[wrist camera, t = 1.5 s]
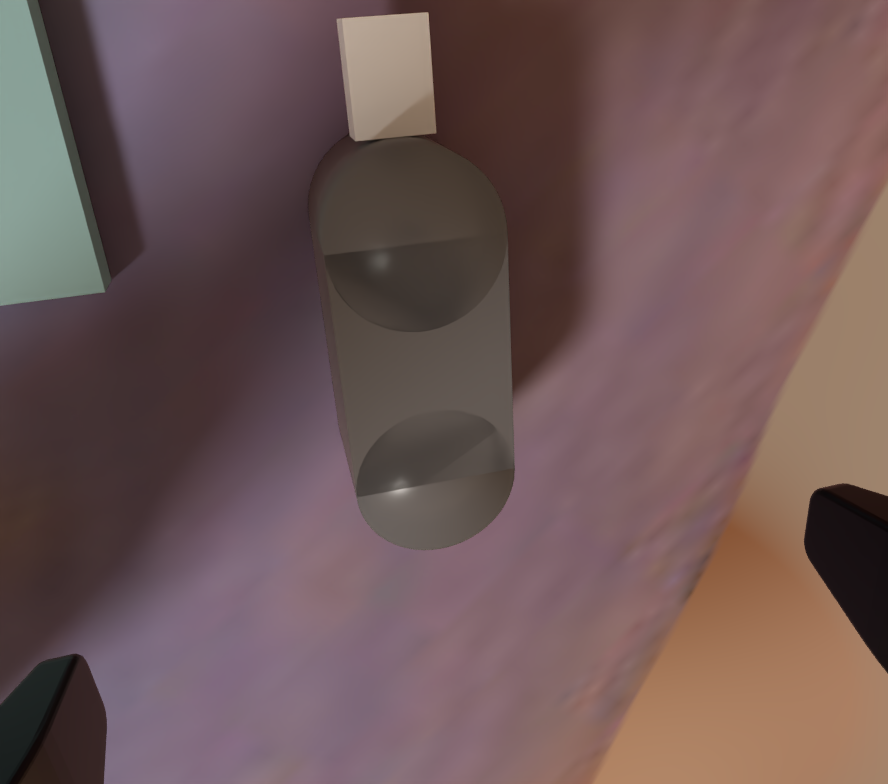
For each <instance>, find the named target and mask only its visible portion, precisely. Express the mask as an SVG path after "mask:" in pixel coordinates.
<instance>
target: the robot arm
mask: <svg viewBox="0 0 888 784" xmlns="http://www.w3.org/2000/svg"><path fill="white" fill-rule="evenodd" d="M804 545H805V550H806V553H807V556H808V558H809V560H810V561H811V563H812V564H813V566H814V568H815V569H816V571H817V572H818V574H819V575H820V576H821V578H822V579H823V581H824V583H825V584H826V586H827V587H828V589H829V590H830V591H831V593H832V594H833V596H834V598H835V599H836V600H837V602H838V603H839V605H840V607H841V608H842V610H843V611H844V612H845V614H846V616H847V617H848V618H849V620H850V622H851V623H852V624H853V626H854V627H855V629H856V630H857V632H858V633H859V635H860V636H861V638H862V639H863V641H864V642H865V644H866V645H867V647H868V648H869V649H870V651H871V652H872V654H873V655H874V656H875V658H876V659H877V660H878V662H879V663H880V664H881V666H882V667H883V668H884V669H885V671H886V672H887V673H888V496H885V495H882V494H879V493H876V492H872V491H869V490H866V489H863V488H860V487H857V486H854V485H850V484H837V485H832V486H828V487H823V488H819V489H817V490H816V491H814V493H813V494H812V496H811V498H810V504H809V510H808V517H807V523H806V530H805V538H804ZM106 734H107V718H106V711H105V707H104V704H103V701H102V699H101V696H100V694H99V691H98V689H97V686H96V684H95V681H94V679H93V676H92V674H91V671H90V669H89V666H88V664H87V662H86V660H85V659H84V657H83V656H81V655H79V654H71V655H67V656H62V657H57V658H53V659H48V660H45V661H43V662H41V663H39V664H38V665H37V666H36V667H35V668H34V669H33V670H32V671H31V672H30V673H29V674H28V675H27V677H26V678H25V679H24V680H23V681H22V682H21V683H20V684H19V685H18V686H17V687H16V688H15V690H14V691H13V692H12V693H11V694H10V695H9V696H8V697H7V698H6V699H5V700H4V701H3V702H2V704H1V705H0V784H104V769H105V751H106Z"/></svg>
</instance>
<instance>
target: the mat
mask: <svg viewBox="0 0 888 784" xmlns="http://www.w3.org/2000/svg"><path fill="white" fill-rule="evenodd" d="M110 282H111V276H110V272H109V269H108V265H107V261H106V257H105V253H104V250H103V246H102V242H101V238H100V234H99V231H98V227H97V223H96V219H95V215H94V212H93V208H92V204H91V200H90V196H89V193H88V189H87V185H86V181H85V178H84V174H83V170H82V166H81V162H80V159H79V155H78V151H77V147H76V143H75V140H74V136H73V132H72V128H71V124H70V121H69V117H68V113H67V109H66V105H65V102H64V98H63V94H62V90H61V86H60V83H59V79H58V75H57V71H56V68H55V64H54V60H53V56H52V52H51V49H50V45H49V41H48V37H47V33H46V30H45V26H44V22H43V18H42V14H41V11H40V7H39V3H38V0H0V306H2V305H10V304H17V303H25V302H33V301H41V300H48V299H56V298H64V297H72V296H80V295H87V294H95V293H103V292H106V290H107V288H108V286H109V284H110Z"/></svg>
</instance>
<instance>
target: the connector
mask: <svg viewBox="0 0 888 784" xmlns="http://www.w3.org/2000/svg"><path fill="white" fill-rule="evenodd" d="M337 28H338V37H339V46H340V55H341V63H342V72H343V81H344V90H345V98H346V107H347V116H348V125H349V135H347V136H346V137H344V138H343V139H341V140H340V141H338V142H337V143H336V144H335V145H334V146H333V147H332V148H331V149H330V150H329V151H328V152H327V153H326V154H325V156H324V157H323V159H322V160H321V162H320V163H319V165H318V167H317V169H316V171H315V173H314V175H313V178H312V181H311V184H310V189H309V195H308V213H309V221H310V228H311V235H312V242H313V249H314V256H315V263H316V270H317V277H318V284H319V291H320V298H321V305H322V312H323V319H324V327H325V334H326V341H327V348H328V355H329V362H330V369H331V376H332V383H333V390H334V397H335V404H336V411H337V418H338V425H339V429H340V433H341V437H342V441H343V445H344V449H345V453H346V457H347V461H348V465H349V469H350V473H351V477H352V481H353V485H354V489H355V493H356V497H357V501H358V505H359V508H360V511H361V513H362V515H363V517H364V519H365V521H366V522H367V524H368V525H369V526H370V527H371V528H372V530H374V531H375V532H376V533H377V534H378V535H379V536H381V537H382V538H384V539H385V540H387V541H389V542H391V543H393V544H395V545H398V546H401V547H404V548H409V549H416V550H434V549H441V548H445V547H449V546H453V545H456V544H458V543H461V542H463V541H465V540H467V539H469V538H471V537H473V536H474V535H476V534H477V533H479V532H480V531H482V530H483V529H484V528H485V527H487V526H488V525H489V524H490V523H491V522H492V521H493V520H494V519H495V518H496V516H497V515H498V514H499V513H500V511H501V510H502V508H503V507H504V505H505V504H506V501H507V499H508V497H509V495H510V492H511V489H512V486H513V481H514V470H515V465H514V432H513V398H512V365H511V331H510V298H509V265H508V232H507V221H506V216H505V212H504V208H503V205H502V203H501V200H500V197H499V195H498V193H497V192H496V190H495V188H494V186H493V185H492V183H491V182H490V181H489V179H488V178H487V177H486V176H485V175H484V174H483V172H482V171H481V170H480V169H479V168H477V167H476V166H475V165H474V164H472V163H471V162H470V161H468V160H467V159H465V158H463V157H462V156H460V155H458V154H456V153H455V152H453V151H451V150H449V149H447V148H446V147H444V146H442V145H440V144H438V143H436V142H435V141H433V140H431V139H429V138H427V137H426V136H424V134H434V133H436V119H435V104H434V89H433V74H432V60H431V45H430V30H429V15H428V12H424V13H410V14H396V15H382V16H368V17H354V18H341V19H337Z"/></svg>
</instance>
